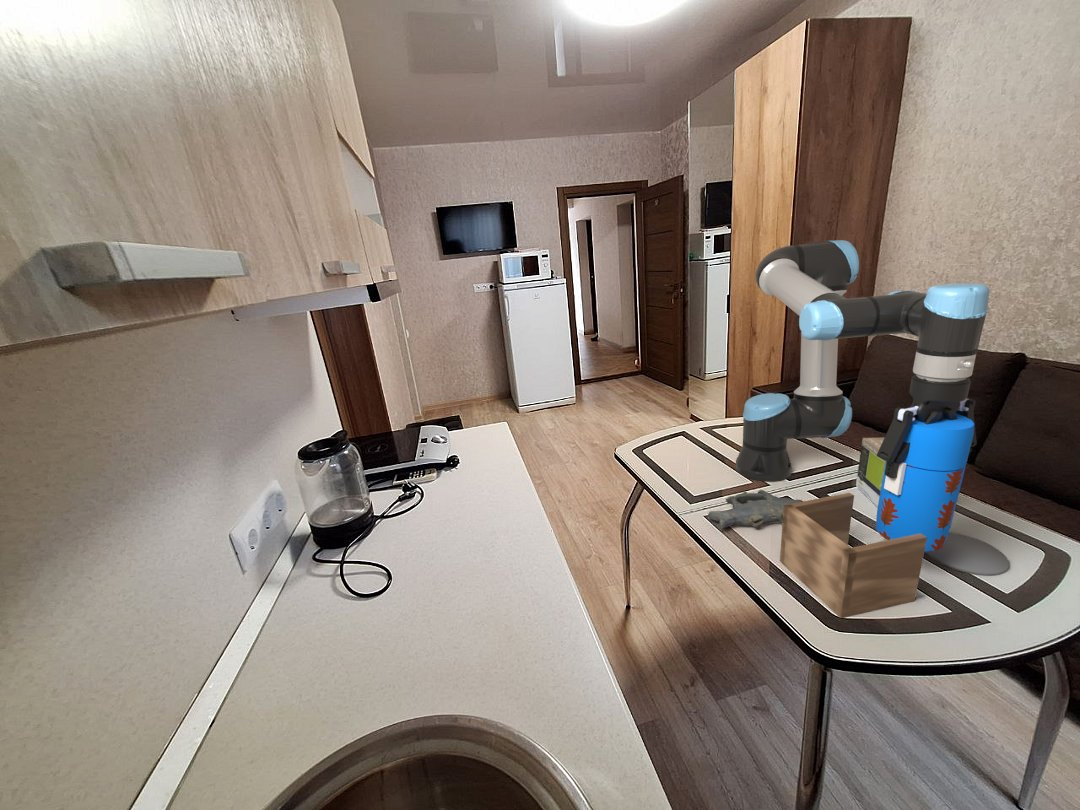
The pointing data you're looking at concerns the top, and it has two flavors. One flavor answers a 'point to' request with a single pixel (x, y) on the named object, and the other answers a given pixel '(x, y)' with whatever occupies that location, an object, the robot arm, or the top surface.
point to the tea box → (870, 469)
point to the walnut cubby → (847, 558)
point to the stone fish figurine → (752, 509)
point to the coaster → (970, 556)
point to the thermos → (927, 482)
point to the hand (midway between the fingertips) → (919, 486)
